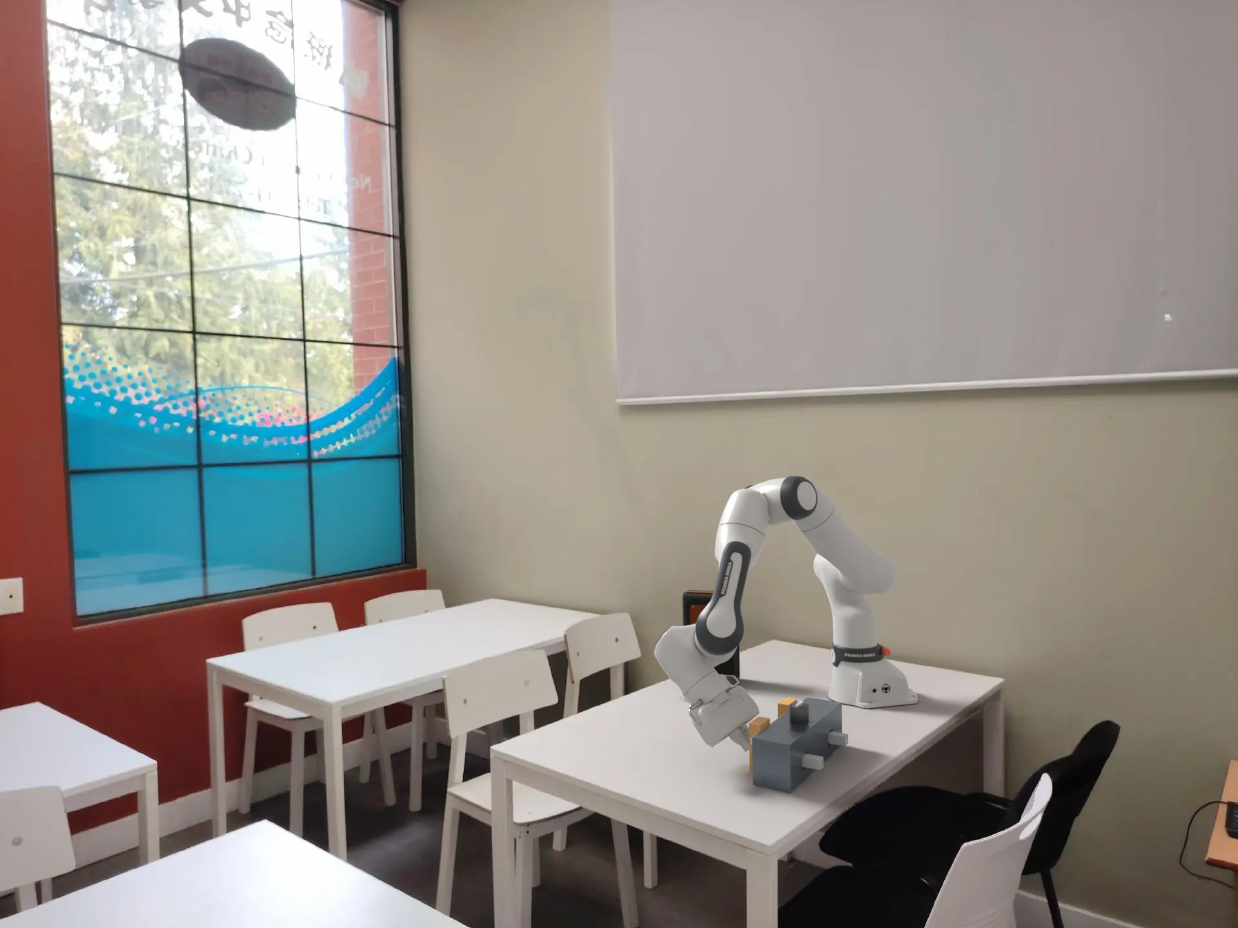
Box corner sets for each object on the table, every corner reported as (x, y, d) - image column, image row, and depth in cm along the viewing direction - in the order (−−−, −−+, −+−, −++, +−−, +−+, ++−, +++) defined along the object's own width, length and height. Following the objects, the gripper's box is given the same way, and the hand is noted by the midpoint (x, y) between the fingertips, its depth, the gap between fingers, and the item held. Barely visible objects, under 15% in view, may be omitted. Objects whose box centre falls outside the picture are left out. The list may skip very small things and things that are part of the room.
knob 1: (749, 771, 180) (748, 723, 180) (759, 763, 184) (758, 716, 184) (817, 785, 172) (816, 735, 172) (826, 776, 176) (825, 727, 176)
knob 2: (778, 748, 193) (777, 703, 192) (787, 741, 197) (786, 697, 196) (842, 760, 185) (842, 713, 184) (850, 752, 189) (849, 707, 189)
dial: (786, 720, 184) (786, 704, 184) (793, 714, 187) (793, 699, 187) (804, 723, 182) (804, 707, 181) (811, 717, 185) (811, 701, 185)
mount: (750, 784, 175) (750, 737, 174) (806, 737, 200) (805, 696, 199) (790, 793, 170) (789, 744, 170) (842, 744, 195) (841, 702, 195)
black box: (742, 677, 249) (740, 590, 248) (735, 686, 241) (734, 596, 240) (688, 673, 254) (686, 588, 253) (680, 682, 246) (678, 593, 245)
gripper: (694, 698, 177) (739, 755, 172) (738, 673, 194) (780, 724, 190) (675, 716, 180) (719, 773, 175) (720, 690, 197) (761, 741, 192)
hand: (751, 747), depth 182 cm, fingers closed
